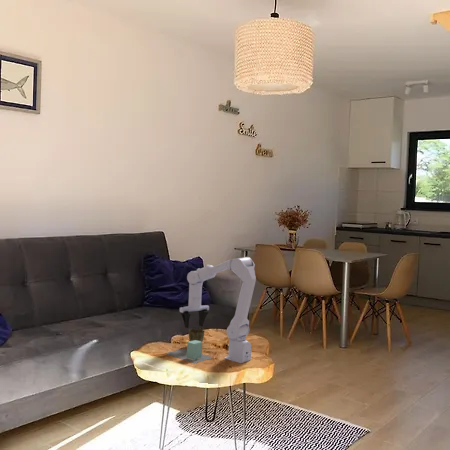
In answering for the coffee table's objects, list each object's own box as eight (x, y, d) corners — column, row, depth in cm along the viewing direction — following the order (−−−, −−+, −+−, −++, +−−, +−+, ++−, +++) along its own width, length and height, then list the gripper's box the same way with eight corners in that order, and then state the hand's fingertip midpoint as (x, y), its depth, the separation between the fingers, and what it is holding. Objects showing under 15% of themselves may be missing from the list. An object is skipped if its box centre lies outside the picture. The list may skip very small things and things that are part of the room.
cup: (204, 345, 253) (205, 328, 253) (202, 349, 246) (203, 332, 246) (189, 344, 254) (189, 327, 254) (186, 348, 247) (187, 331, 246)
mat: (213, 358, 234) (213, 357, 234) (194, 364, 225) (194, 363, 225) (183, 349, 245) (183, 348, 245) (164, 354, 236) (164, 353, 236)
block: (201, 358, 232) (202, 341, 232) (193, 360, 228) (194, 343, 228) (194, 355, 235) (195, 339, 234) (186, 358, 231) (187, 341, 231)
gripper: (203, 294, 254) (202, 323, 254) (176, 296, 245) (175, 326, 246) (212, 297, 248) (210, 326, 249) (184, 299, 240) (183, 329, 240)
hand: (193, 326), depth 247 cm, fingers open, 7 cm apart
